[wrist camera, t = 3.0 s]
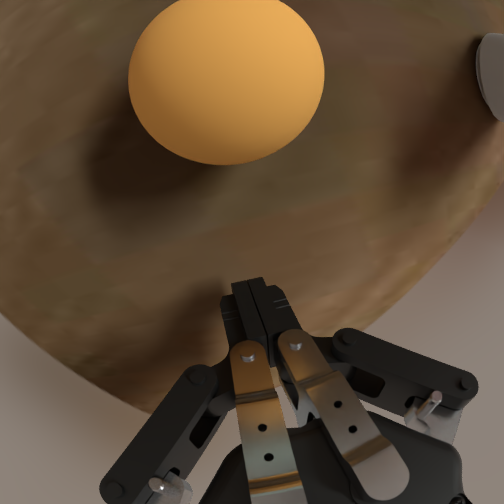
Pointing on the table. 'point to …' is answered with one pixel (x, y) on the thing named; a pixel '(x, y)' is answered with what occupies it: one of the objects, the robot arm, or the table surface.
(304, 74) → the ball
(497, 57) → the can
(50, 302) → the table surface
